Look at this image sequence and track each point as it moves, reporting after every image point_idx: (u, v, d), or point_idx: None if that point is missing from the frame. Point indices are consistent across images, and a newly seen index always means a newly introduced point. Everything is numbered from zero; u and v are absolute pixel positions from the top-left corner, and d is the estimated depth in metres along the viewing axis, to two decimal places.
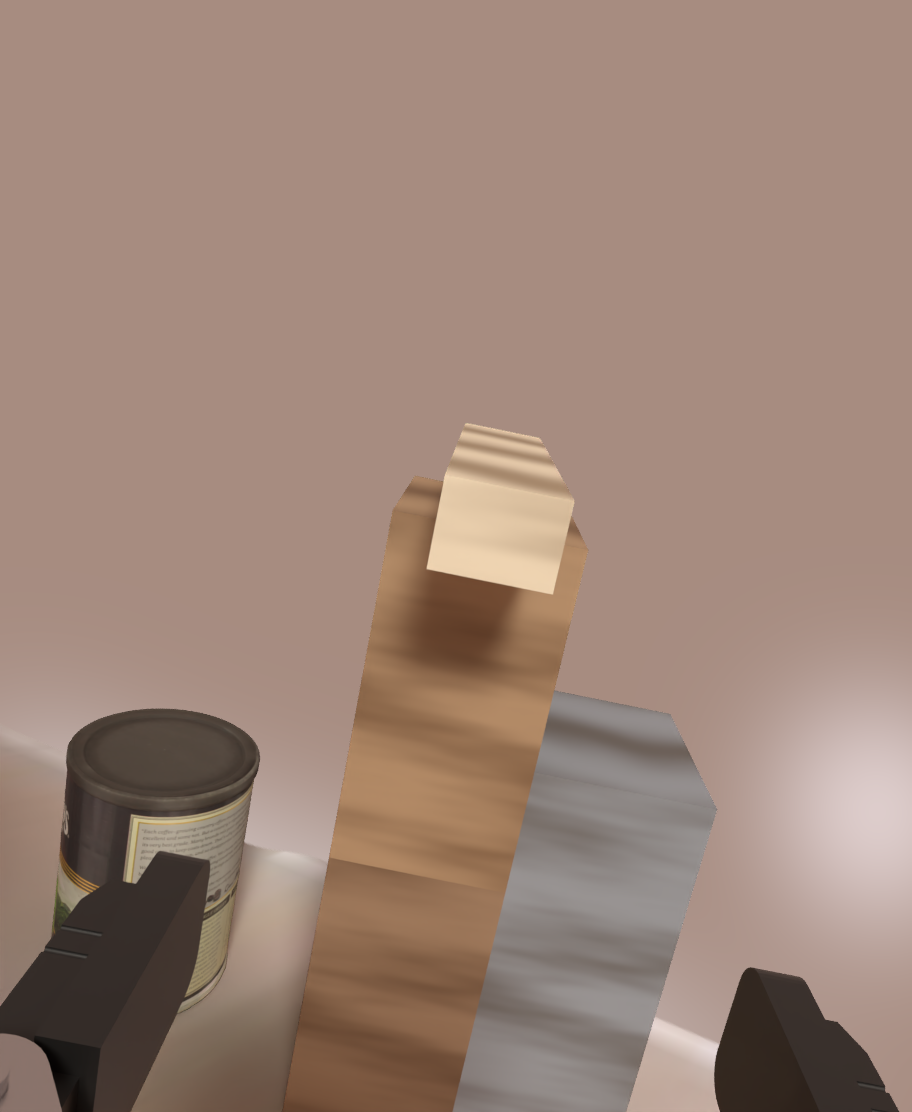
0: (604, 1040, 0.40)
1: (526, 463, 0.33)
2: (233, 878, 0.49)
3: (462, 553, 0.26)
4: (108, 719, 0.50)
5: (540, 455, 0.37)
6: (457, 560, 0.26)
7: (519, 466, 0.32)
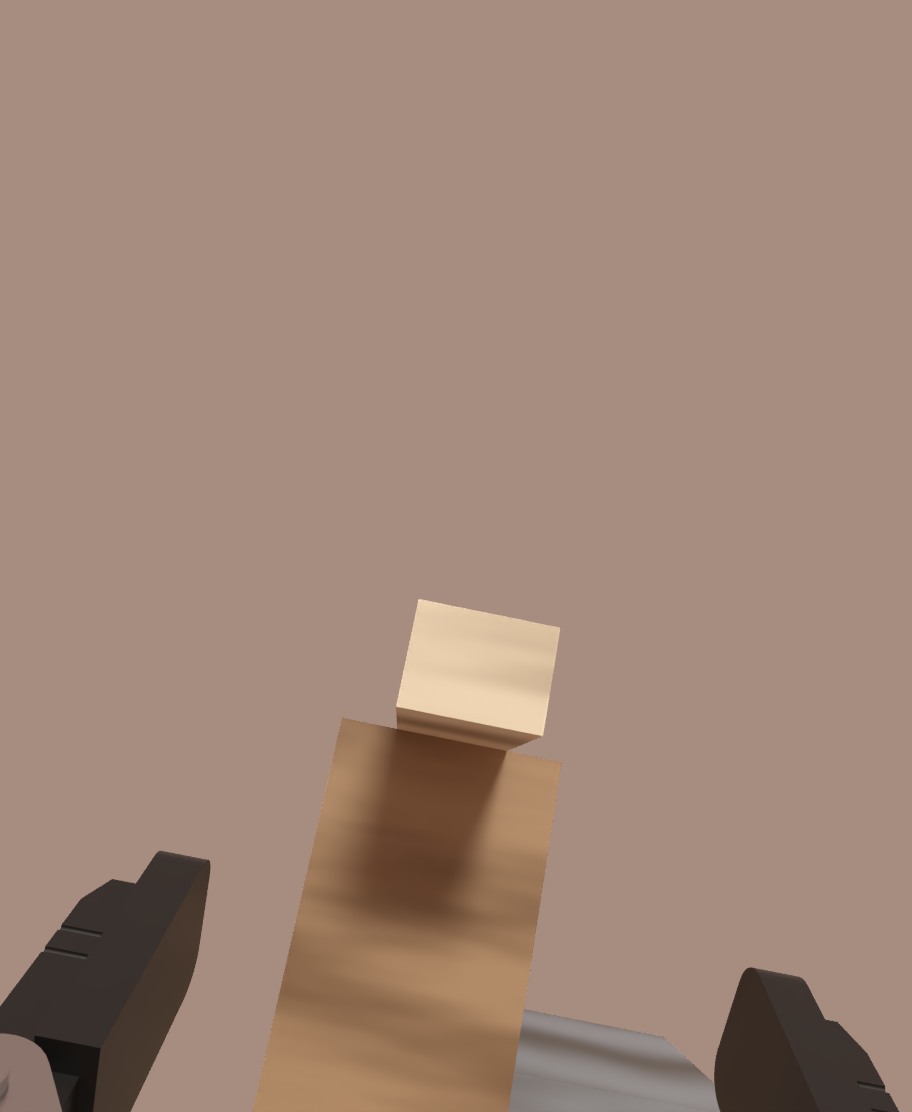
0: None
1: None
2: None
3: (437, 687, 0.23)
4: None
5: None
6: (432, 696, 0.23)
7: None
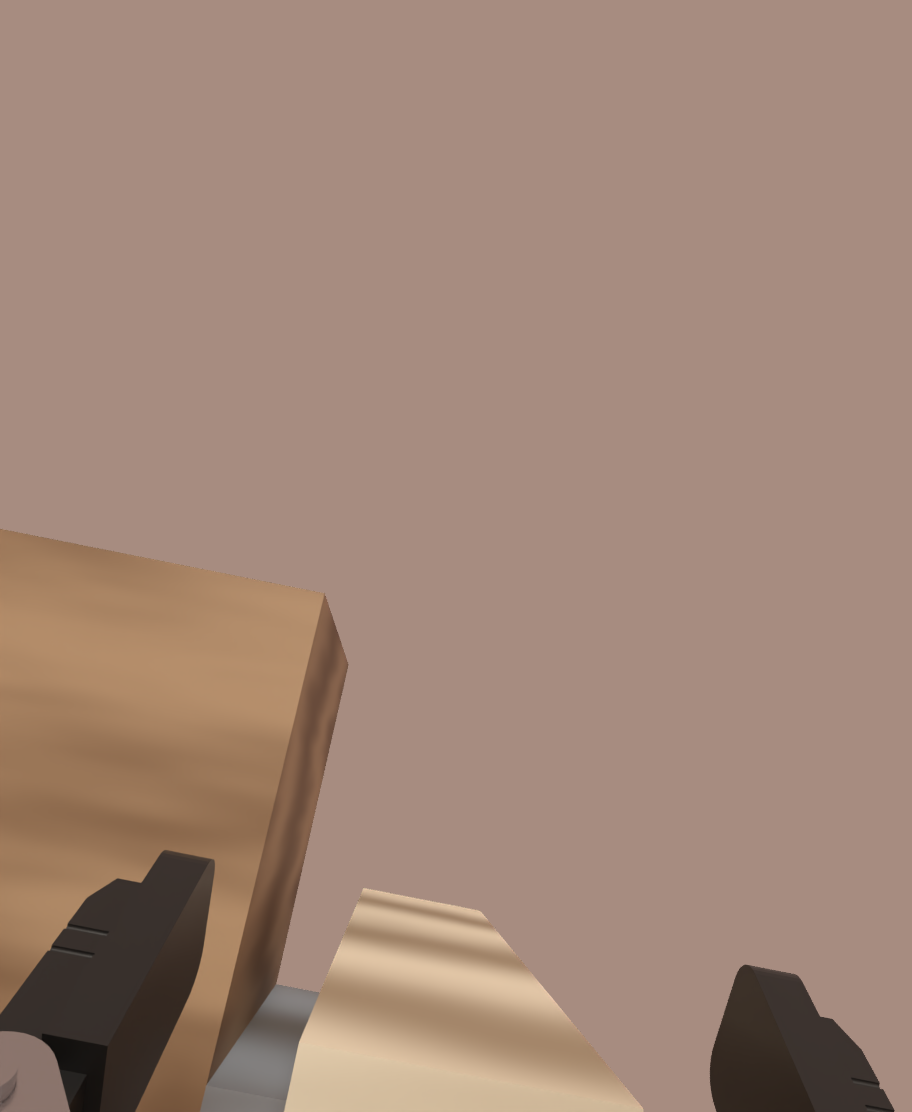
0: None
1: (480, 973, 0.17)
2: None
3: None
4: None
5: (496, 948, 0.20)
6: None
7: (470, 984, 0.15)
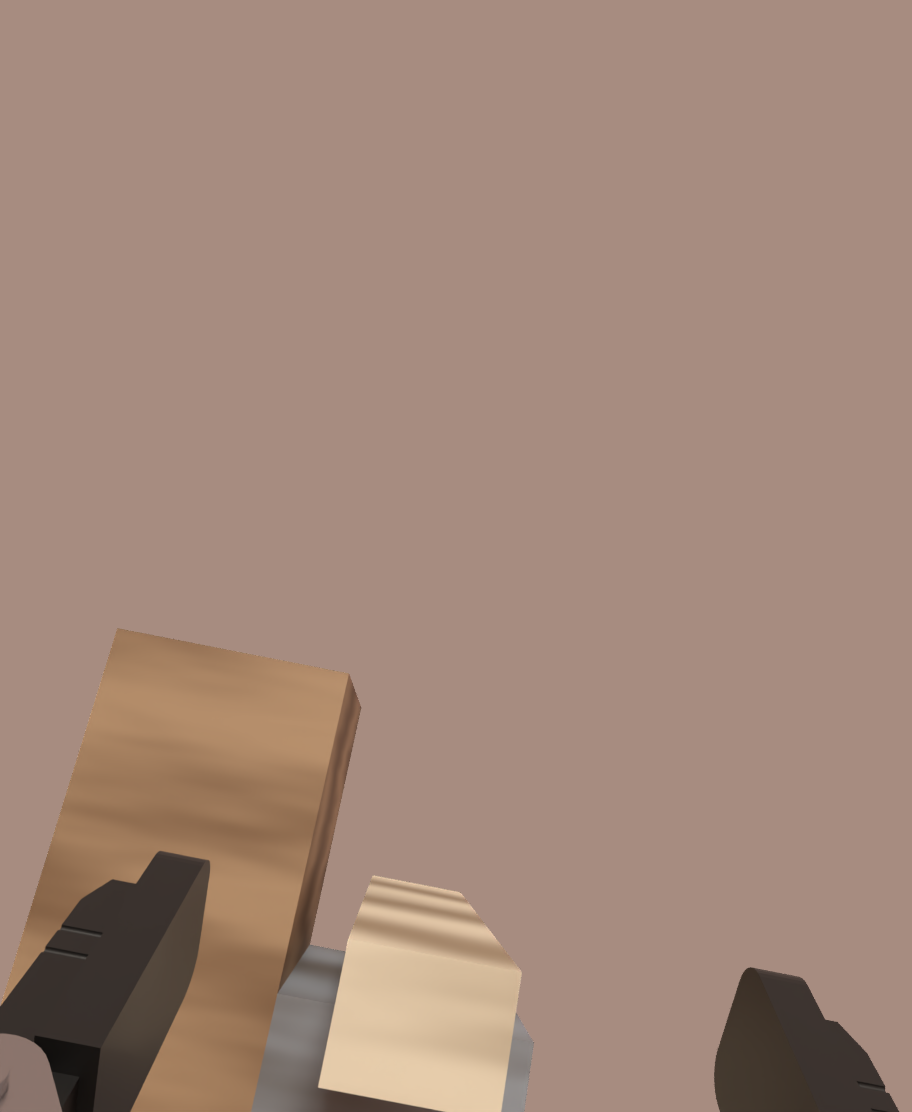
0: None
1: (450, 922, 0.26)
2: None
3: (369, 1059, 0.19)
4: None
5: (465, 912, 0.30)
6: (363, 1071, 0.19)
7: (442, 926, 0.25)
